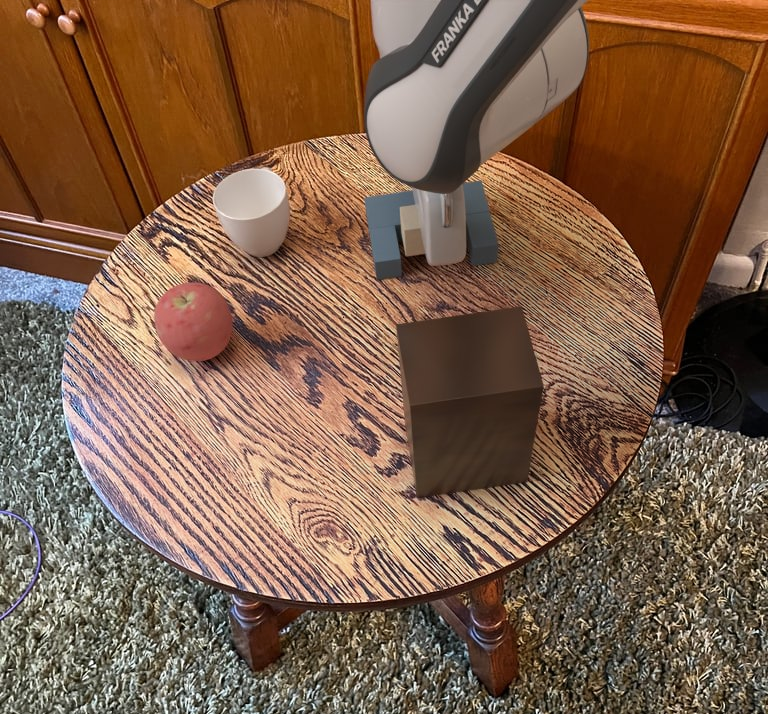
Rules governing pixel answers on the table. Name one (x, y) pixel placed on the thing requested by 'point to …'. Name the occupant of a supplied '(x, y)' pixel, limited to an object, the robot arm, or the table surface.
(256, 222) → the cup
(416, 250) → the beige block
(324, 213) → the table surface
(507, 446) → the block
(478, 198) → the u-shaped bracket
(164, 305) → the apple
